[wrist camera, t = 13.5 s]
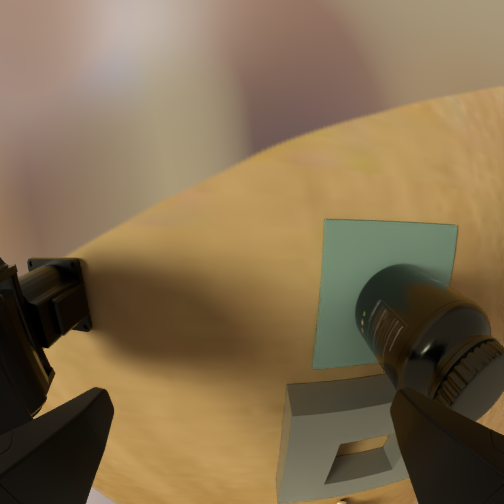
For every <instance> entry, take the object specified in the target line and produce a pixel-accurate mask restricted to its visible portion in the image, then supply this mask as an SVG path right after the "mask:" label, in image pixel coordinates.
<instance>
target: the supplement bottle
mask: <svg viewBox="0 0 504 504" xmlns="http://www.w3.org/2000/svg"><path fill="white" fill-rule="evenodd" d="M355 322H356V326H357V328H358V330H359V332H360V334H361V336H362V337H363V339H364V340H365V342H366V343H367V345H368V347H369V348H370V350H371V351H372V353H373V354H374V356H375V357H376V359H377V360H378V362H379V363H380V365H381V367H382V368H383V370H384V371H385V373H386V374H387V376H388V378H389V379H390V381H391V382H392V384H393V386H394V387H395V389H396V390H398V389H401V388H405V387H411V388H413V389H415V390H416V391H418V392H420V393H422V394H424V395H425V396H427V397H429V398H431V399H433V400H435V401H437V402H438V403H440V404H442V405H444V406H446V407H448V408H450V409H452V410H454V411H456V412H458V413H459V414H461V415H463V416H465V417H467V418H469V419H471V420H473V421H475V422H476V421H477V420H478V419H480V418H481V417H482V416H483V415H484V414H485V413H487V412H488V410H489V409H490V408H491V407H492V406H493V405H494V404H495V402H496V401H497V400H498V399H499V397H500V396H501V395H502V393H503V392H504V347H503V346H502V345H501V344H500V343H499V342H498V341H497V340H496V339H495V338H494V337H492V336H491V327H490V322H489V319H488V317H487V315H486V313H485V311H484V310H483V309H482V308H481V307H480V306H479V305H477V304H476V303H475V302H473V301H471V300H470V299H468V298H467V297H465V296H463V295H462V294H460V293H458V292H457V291H455V290H453V289H452V288H450V287H448V286H447V285H445V284H443V283H442V282H440V281H438V280H437V279H435V278H433V277H431V276H430V275H428V274H426V273H424V272H423V271H421V270H419V269H417V268H415V267H413V266H410V265H405V264H396V265H391V266H388V267H386V268H384V269H382V270H380V271H379V272H377V273H376V274H375V275H373V276H372V277H371V278H370V279H369V280H368V282H367V283H366V284H365V285H364V287H363V288H362V290H361V292H360V294H359V296H358V299H357V302H356V307H355Z"/></svg>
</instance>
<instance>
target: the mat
mask: <svg viewBox="0 0 504 504" xmlns="http://www.w3.org/2000/svg"><path fill="white" fill-rule="evenodd" d="M457 228H458V226H457V225H451V224H436V223H419V222H400V221H377V220H349V219H324V236H323V255H322V271H321V285H320V297H319V308H318V318H317V328H316V337H315V346H314V354H313V362H312V367H313V370H314V369H326V368H337V367H347V366H356V365H364V364H371V363H378V360H377V359H376V357H375V356H374V354H373V353H372V351H371V350H370V348H369V347H368V345H367V343H366V342H365V340H364V339H363V337H362V336H361V334H360V332H359V330H358V328H357V326H356V322H355V307H356V302H357V299H358V296H359V294H360V292H361V290H362V288H363V287H364V285H365V284H366V283H367V282H368V280H369V279H370V278H371V277H372V276H373V275H375V274H376V273H377V272H379V271H380V270H382V269H384V268H386V267H388V266H391V265H396V264H405V265H410V266H413V267H415V268H417V269H419V270H421V271H423V272H424V273H426V274H428V275H430V276H431V277H433V278H435V279H437V280H438V281H440V282H442V283H443V284H445V285H447V286H448V287H449V284H450V278H451V273H452V267H453V260H454V253H455V246H456V237H457Z"/></svg>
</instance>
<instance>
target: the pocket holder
mask: <svg viewBox="0 0 504 504" xmlns="http://www.w3.org/2000/svg"><path fill="white" fill-rule="evenodd" d="M396 391H397V390H396V389H395V387H394V386H393V384H392V382H391V381H390V379H389V378H388V376H387V374H381V375H375V376H368V377H362V378H354V379H346V380H337V381H328V382H316V383H303V384H287V387H286V398H285V408H284V418H283V427H282V436H281V444H280V452H279V460H278V468H277V475H276V489H277V503H278V504H282V503H295V502H305V501H313V500H320V499H327V498H333V497H338V496H344V495H349V494H353V493H358V492H362V491H366V490H370V489H374V488H378V487H381V486H385V485H388V484H391V483H394V482H398V481H401V480H404V479H406V478H409V474H408V472H407V469H406V466H405V463H404V461H403V458H402V455H401V452H400V449H399V446H398V442H397V438H396V434H395V430H394V426H393V422H392V419H391V415H390V407H391V404H392V401H393V399H394V396H395V394H396ZM388 434H389V436H388V438H387V440H386V442H385V444H384V446H383V447H382V448H378V449H373V450H369V451H365V452H360V453H355V454H350V455H344V456H338V457H335V456H336V454H337V451H338V449H339V446H340V444H344V443H350V442H355V441H361V440H366V439H370V438H375V437H379V436H383V435H388Z"/></svg>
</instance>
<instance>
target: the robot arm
mask: <svg viewBox="0 0 504 504" xmlns="http://www.w3.org/2000/svg"><path fill="white" fill-rule="evenodd" d="M73 263H75V266H74V264H73ZM28 269H29V272H28V273H26V274H24V275H22V276H20V277H18V276H17V268H16V264H15V265H9V266H8V264H6V263H4V261H3V260H2V259H1V258H0V504H86V502H87V498H88V496H89V493H90V490H91V487H92V484H93V481H94V478H95V475H96V472H97V470H98V467H99V464H100V461H101V459H102V456H103V453H104V450H105V447H106V443H107V439H108V435H109V431H110V427H111V423H112V419H113V415H114V407H113V404H112V402H111V399H110V396H109V394H108V392H107V390H105V389H102V388H98V387H94V388H92V389H90V390H88V391H86V392H85V393H83V394H81V395H79V396H77V397H75V398H74V399H72V400H70V401H68V402H66V403H64V404H62V405H61V406H59V407H57V408H55V409H53V410H51V411H49V412H47V413H45V414H43V415H41V416H40V417H38V418H36V419H33V417H34V416H35V415H36V414H37V413H38V412H39V411H40V410H41V408H42V406H43V405H44V403H45V402H46V400H47V396H46V395H47V393H48V390H49V388H50V385H51V383H52V380H53V378H54V375H55V372H54V370H53V368H52V367H51V366H50V364H49V362H48V359H47V357H46V355H45V353H44V350H43V349H44V348H49V347H50V346H52V345H53V344H54V343H55V342H56V341H57V340H58V339H59V338H60V337H61V336H64V335H66V334H67V333H68V332H69V331H70V330H78V331H84V332H89V331H90V330H91V329H92V323H91V319H90V314H89V309H88V304H87V299H86V294H85V289H84V285H83V279H82V273H81V266H80V262H79V260H78V259H76V258H30V259H28ZM85 324H86V325H87V326H88V327H87V326H86V325H85ZM390 415H391V419H392V422H393V426H394V430H395V434H396V438H397V442H398V446H399V449H400V452H401V455H402V458H403V461H404V463H405V466H406V469H407V472H408V474H409V477H410V480H411V483H412V486H413V489H414V492H415V495H416V498H417V501H418V504H504V435H502V434H500V433H498V432H496V431H493V430H491V429H490V430H489V428H487V427H485V426H483V425H481V424H479V423H477V422H475V421H473V420H471V419H469V418H467V417H465V416H463V415H461V414H459V413H458V412H456V411H454V410H452V409H450V408H448V407H446V406H444V405H442V404H440V403H438V402H437V401H435V400H433V399H431V398H429V397H427V396H425V395H424V394H422V393H420V392H418V391H416V390H415V389H413V388H411V387H405V388H401V389H398V390H397V391H396V394H395V396H394V399H393V401H392V404H391V407H390Z"/></svg>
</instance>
